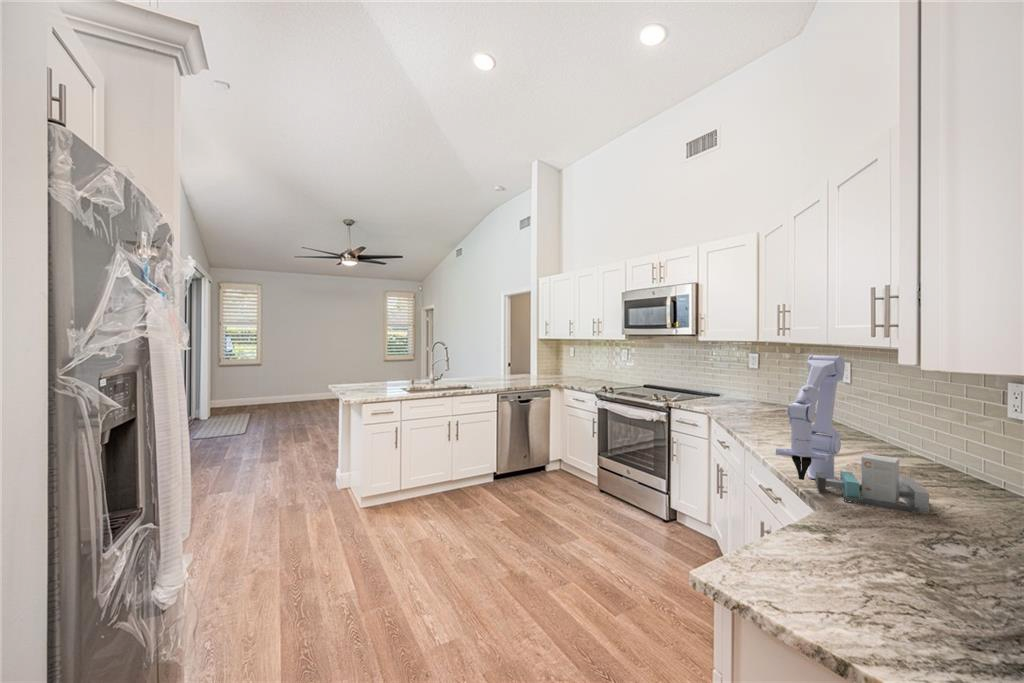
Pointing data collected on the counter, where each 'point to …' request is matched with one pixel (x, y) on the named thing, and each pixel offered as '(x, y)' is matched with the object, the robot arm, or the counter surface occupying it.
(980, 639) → the counter surface
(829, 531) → the counter surface
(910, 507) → the vise
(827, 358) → the robot arm
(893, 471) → the small box
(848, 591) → the counter surface
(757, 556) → the counter surface
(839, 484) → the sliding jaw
